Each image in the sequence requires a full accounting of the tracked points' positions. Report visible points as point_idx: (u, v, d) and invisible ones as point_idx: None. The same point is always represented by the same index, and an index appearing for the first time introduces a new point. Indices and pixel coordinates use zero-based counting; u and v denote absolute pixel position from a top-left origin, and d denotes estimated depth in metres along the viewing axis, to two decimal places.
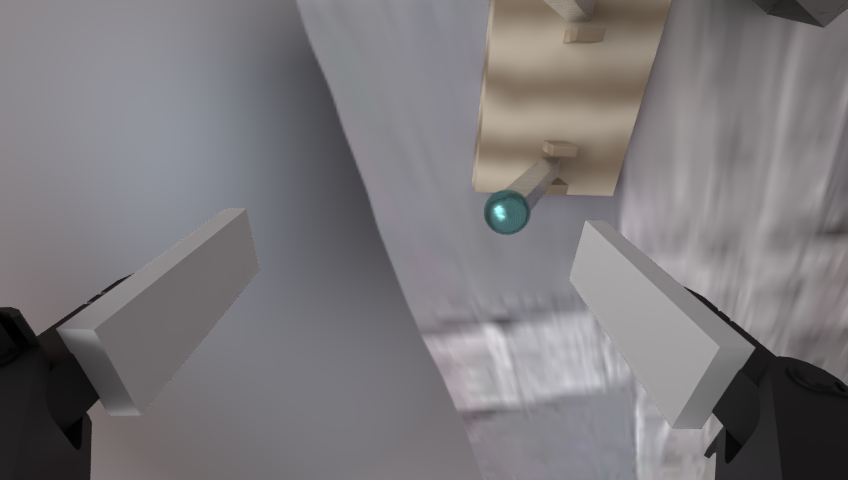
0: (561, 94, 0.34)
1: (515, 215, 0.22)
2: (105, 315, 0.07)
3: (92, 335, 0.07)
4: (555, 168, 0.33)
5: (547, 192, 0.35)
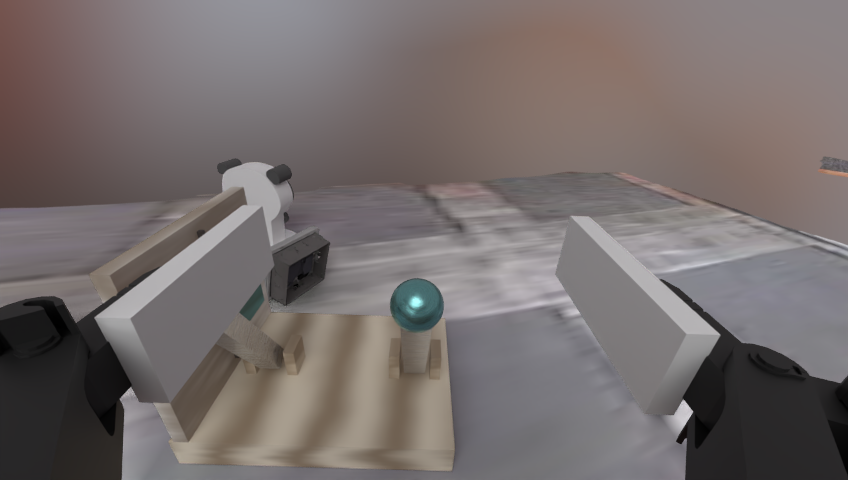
0: (344, 370, 0.34)
1: (411, 282, 0.19)
2: (139, 305, 0.07)
3: (128, 324, 0.07)
4: None
5: (439, 355, 0.32)
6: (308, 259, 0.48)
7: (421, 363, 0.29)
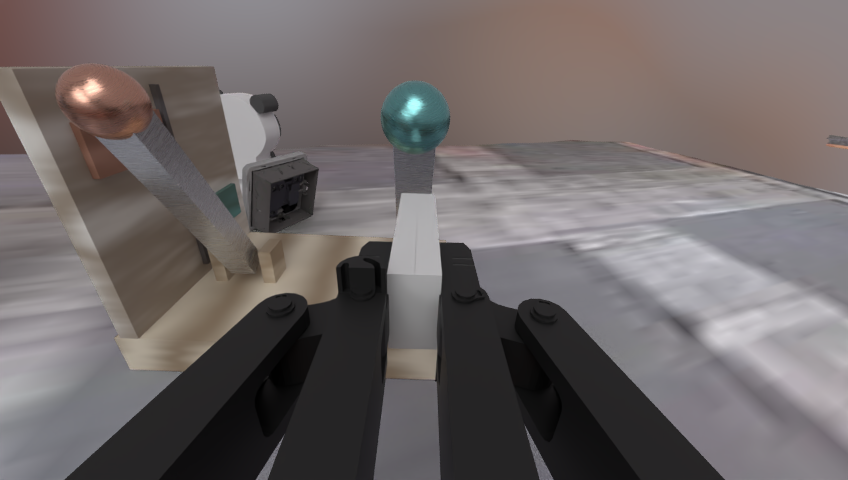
0: (330, 279, 0.29)
1: (408, 81, 0.15)
2: (409, 266, 0.09)
3: (409, 279, 0.09)
4: None
5: None
6: (294, 186, 0.44)
7: None
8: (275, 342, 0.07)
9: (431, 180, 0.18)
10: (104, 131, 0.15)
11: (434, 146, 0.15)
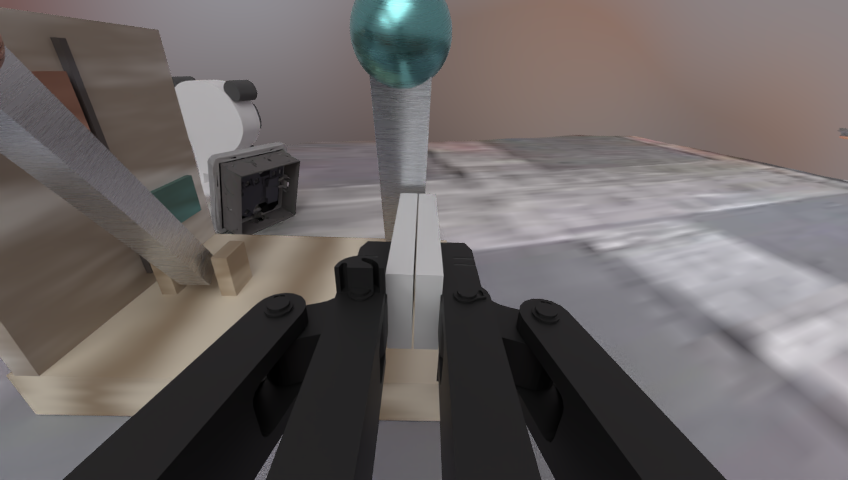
0: (305, 290, 0.24)
1: None
2: (407, 266, 0.09)
3: (407, 279, 0.09)
4: None
5: None
6: (272, 182, 0.38)
7: None
8: (273, 342, 0.07)
9: (426, 135, 0.13)
10: None
11: (429, 71, 0.10)
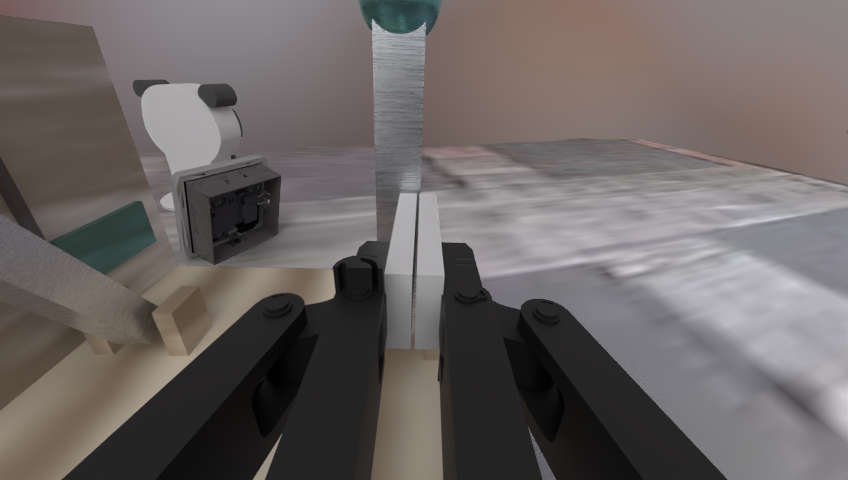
0: None
1: None
2: (406, 266, 0.09)
3: (407, 279, 0.09)
4: None
5: None
6: (249, 199, 0.34)
7: None
8: (272, 342, 0.07)
9: (422, 87, 0.13)
10: None
11: (424, 9, 0.12)
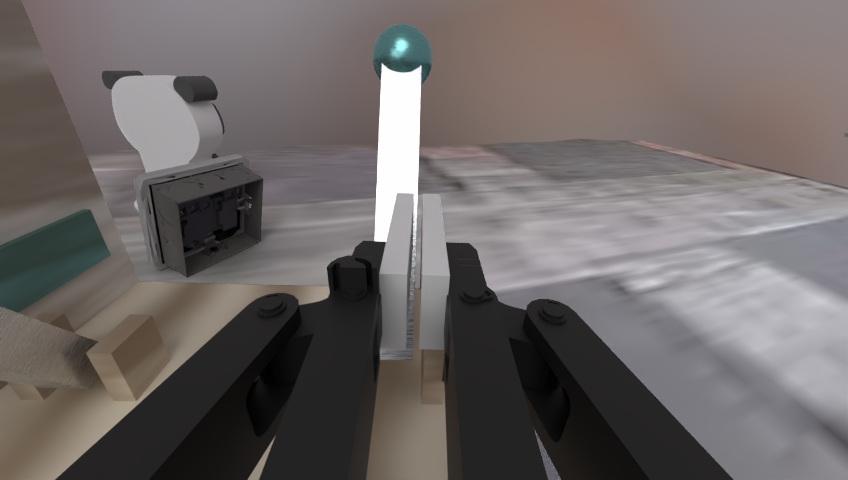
0: None
1: None
2: (401, 266, 0.09)
3: (402, 279, 0.09)
4: None
5: (444, 352, 0.15)
6: (228, 204, 0.30)
7: None
8: (266, 342, 0.07)
9: (418, 108, 0.17)
10: None
11: (420, 56, 0.17)
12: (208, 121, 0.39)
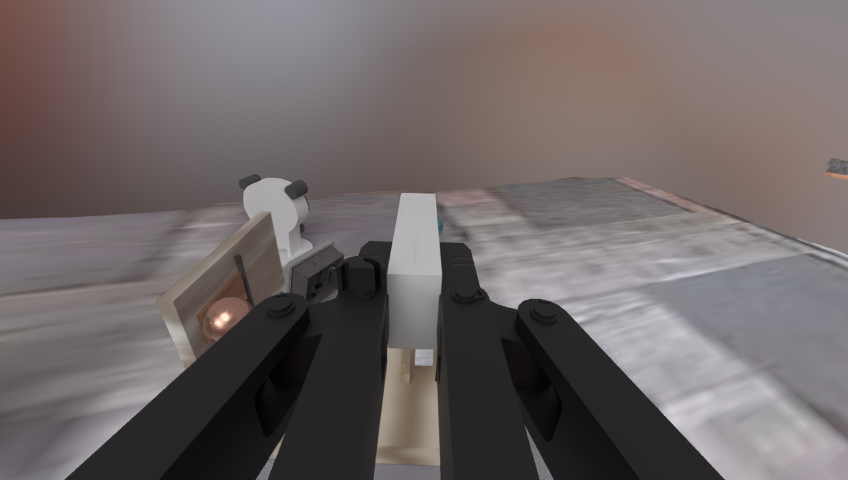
0: None
1: None
2: (409, 266, 0.09)
3: (409, 279, 0.09)
4: None
5: None
6: (324, 270, 0.52)
7: None
8: (275, 342, 0.07)
9: None
10: None
11: None
12: (302, 207, 0.61)
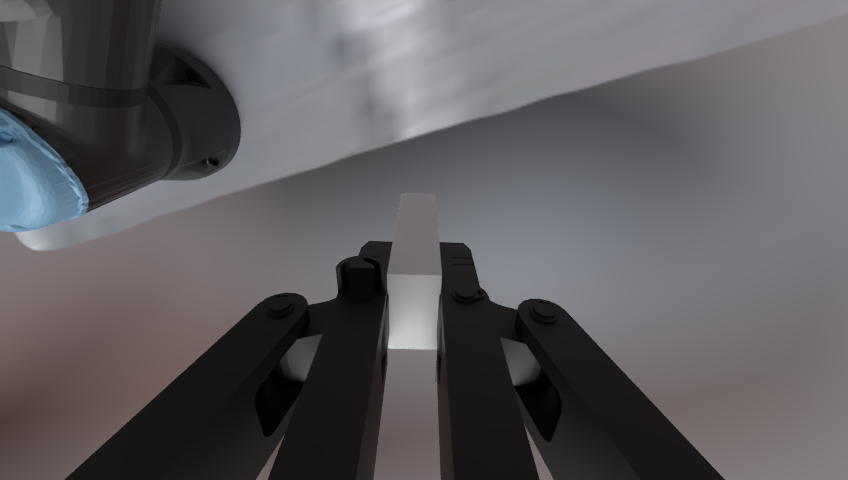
0: None
1: None
2: (409, 266, 0.09)
3: (409, 279, 0.09)
4: None
5: None
6: None
7: None
8: (275, 342, 0.07)
9: None
10: None
11: None
12: None
